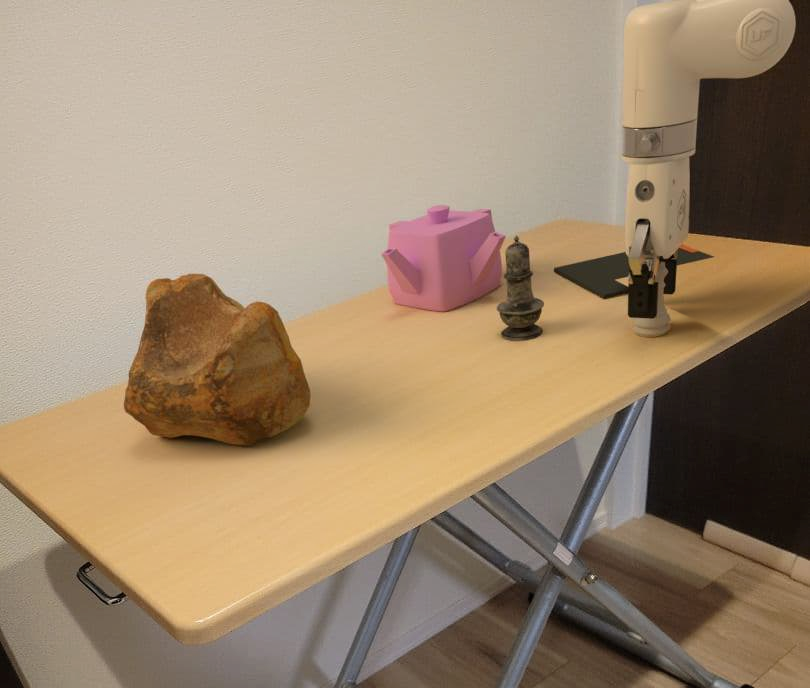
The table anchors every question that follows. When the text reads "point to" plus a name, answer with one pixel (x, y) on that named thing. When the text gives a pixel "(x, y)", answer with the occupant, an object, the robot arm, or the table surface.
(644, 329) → the rook chess piece
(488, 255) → the teakettle
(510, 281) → the salt shaker
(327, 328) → the table surface
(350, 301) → the table surface
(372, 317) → the table surface
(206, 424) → the rough brown rock
